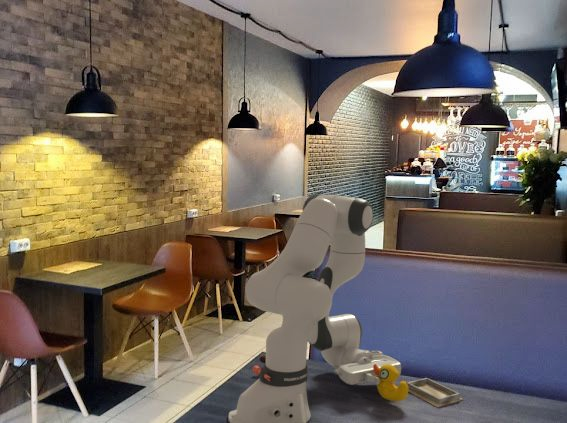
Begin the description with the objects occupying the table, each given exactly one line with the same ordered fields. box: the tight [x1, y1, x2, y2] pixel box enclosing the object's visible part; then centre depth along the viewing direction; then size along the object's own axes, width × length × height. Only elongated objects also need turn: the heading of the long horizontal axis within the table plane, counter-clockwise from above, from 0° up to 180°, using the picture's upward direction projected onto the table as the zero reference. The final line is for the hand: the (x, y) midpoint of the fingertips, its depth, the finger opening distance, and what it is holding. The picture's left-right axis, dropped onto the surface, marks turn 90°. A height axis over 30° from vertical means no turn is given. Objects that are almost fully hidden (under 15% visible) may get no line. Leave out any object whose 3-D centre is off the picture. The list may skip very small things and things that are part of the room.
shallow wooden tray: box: [406, 377, 464, 408], centre depth 169 cm, size 10×14×2 cm
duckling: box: [373, 364, 409, 402], centre depth 162 cm, size 11×5×10 cm, turn 51°
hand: (387, 379), depth 162 cm, fingers closed on duckling, 4 cm apart
